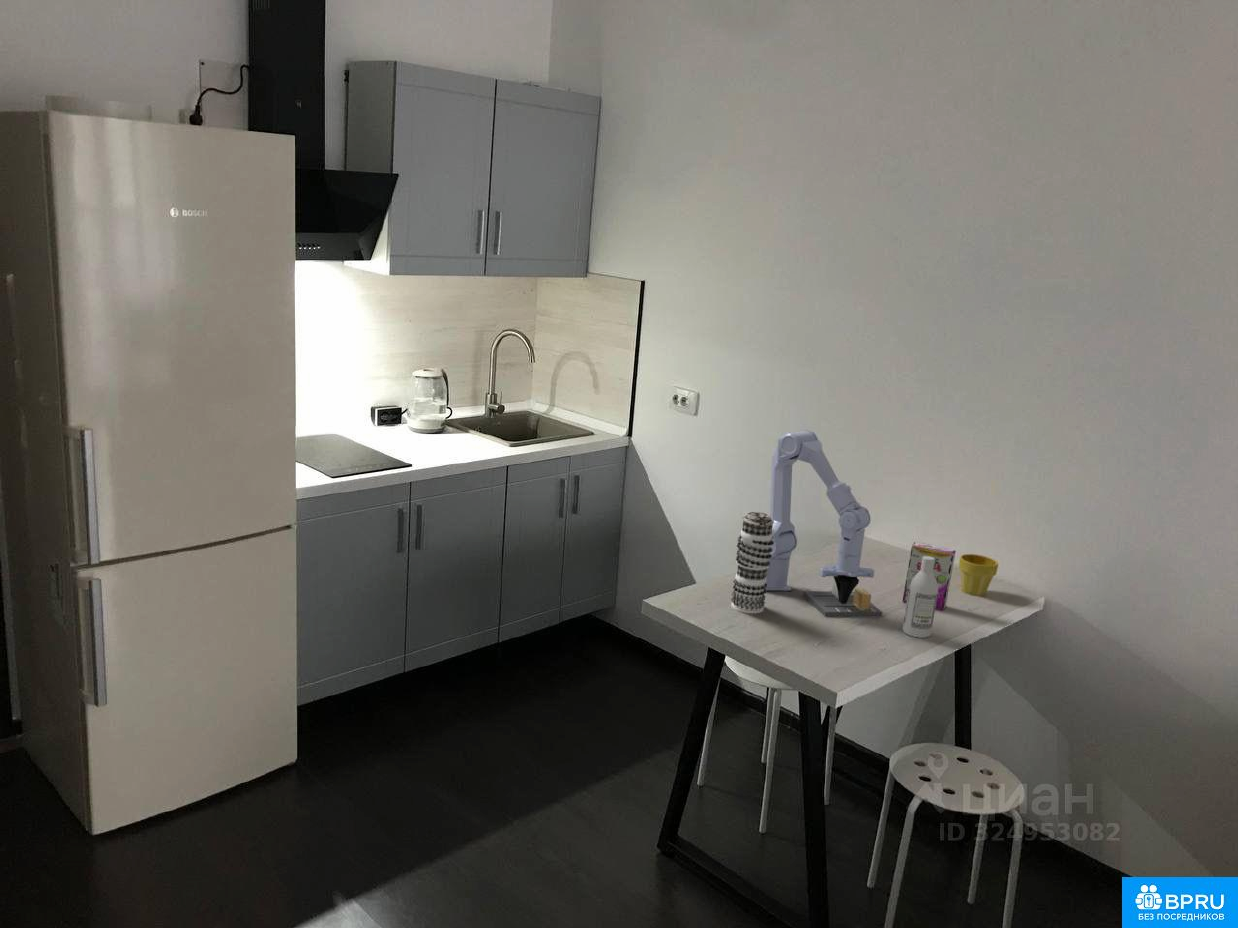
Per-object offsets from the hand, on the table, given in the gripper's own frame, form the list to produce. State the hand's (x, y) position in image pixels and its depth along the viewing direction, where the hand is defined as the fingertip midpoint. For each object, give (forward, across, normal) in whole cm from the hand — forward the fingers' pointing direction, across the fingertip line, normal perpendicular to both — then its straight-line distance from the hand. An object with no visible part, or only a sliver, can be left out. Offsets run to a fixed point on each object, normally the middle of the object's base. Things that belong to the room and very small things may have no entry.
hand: (842, 602), depth 271 cm
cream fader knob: (+1, +3, +7) cm, 8 cm away
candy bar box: (+2, +27, +5) cm, 27 cm away
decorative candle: (+2, -25, +2) cm, 26 cm away
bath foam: (+2, +14, -15) cm, 20 cm away
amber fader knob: (+1, +5, 0) cm, 5 cm away
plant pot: (+2, +48, +15) cm, 50 cm away
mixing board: (+2, +2, +3) cm, 4 cm away
